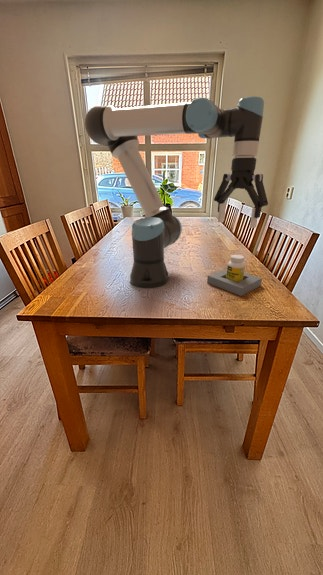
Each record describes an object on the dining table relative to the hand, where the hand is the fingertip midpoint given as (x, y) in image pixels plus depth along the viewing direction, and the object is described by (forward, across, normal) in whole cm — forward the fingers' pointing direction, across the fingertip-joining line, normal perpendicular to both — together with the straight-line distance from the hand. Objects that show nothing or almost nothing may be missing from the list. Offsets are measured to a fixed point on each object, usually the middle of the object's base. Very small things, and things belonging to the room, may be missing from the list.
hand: (236, 224), depth 89 cm
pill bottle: (+22, -4, +2) cm, 22 cm away
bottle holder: (+22, -4, +2) cm, 22 cm away
